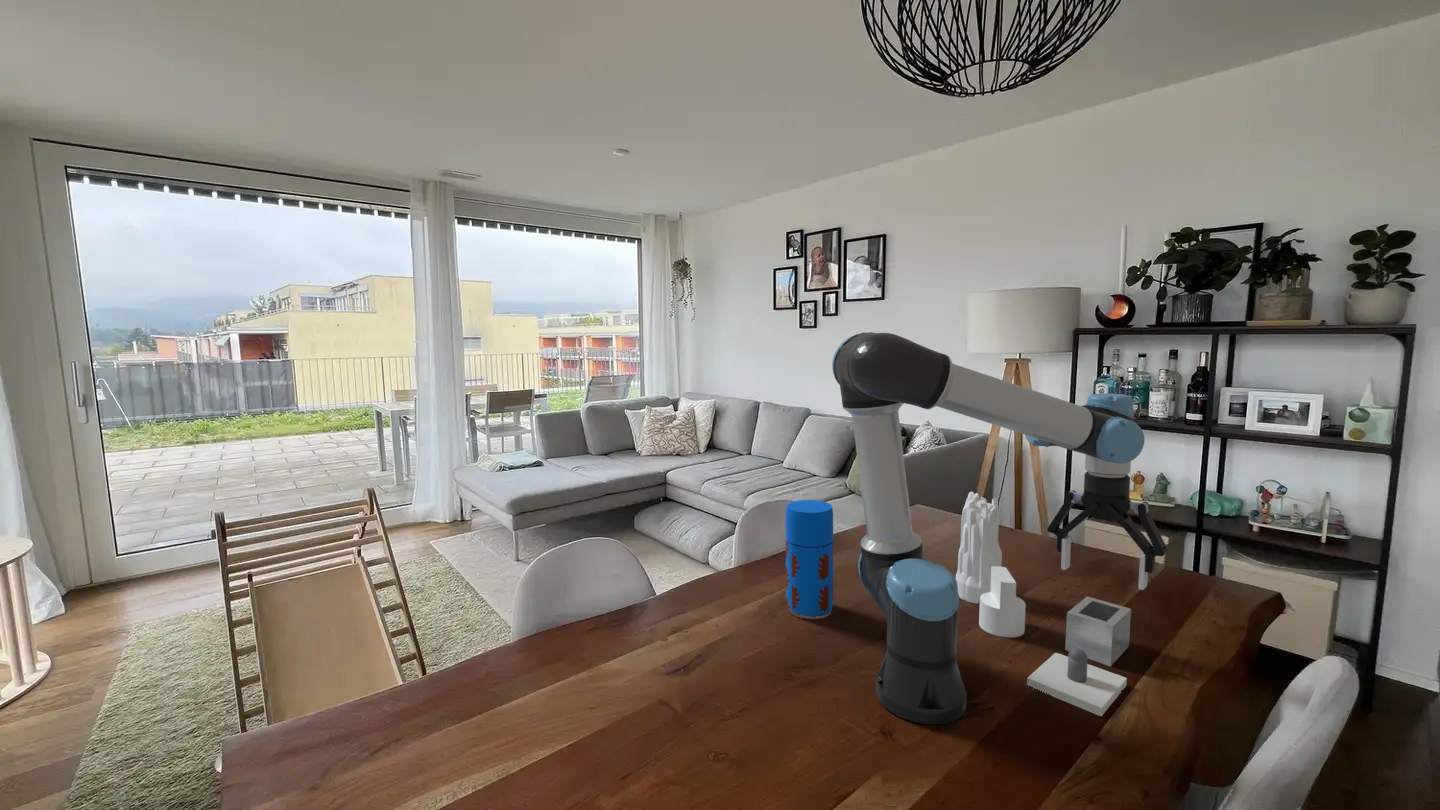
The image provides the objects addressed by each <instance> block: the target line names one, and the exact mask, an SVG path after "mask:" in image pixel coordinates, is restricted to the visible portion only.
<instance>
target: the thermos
mask: <svg viewBox="0 0 1440 810" xmlns="http://www.w3.org/2000/svg"><path fill="white" fill-rule="evenodd" d="M785 584H786V585H785V588H786V589H785V595H786V596H785V597H786V607H787V606H788V608H789V609H790V610H791V611H793V612H795V613H797V614H799V615H804V616H811V617H816V616H823V615H826V614H829V613H830V612H831V611H832V612H833V603H834V600H833V599H834V507H833V505H832V504H831V503H828V501H827V502H826V501H822V500H817V499H802V500H801V499H800V500H794V501H791V502H789V503H787V504H786V507H785Z"/></svg>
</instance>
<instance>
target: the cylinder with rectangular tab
mask: <svg viewBox="0 0 1440 810" xmlns="http://www.w3.org/2000/svg"><path fill="white" fill-rule="evenodd" d="M978 615H979V616H978V625H979V627H980V629H982V630H983V631H984V632H986V633H988V634H991V635H993V636H998V637H1002V638H1017V637H1018V638H1019V637H1021V636H1023V635H1024V634H1025V629H1026V602H1025V601H1024V600H1023V599H1022V598H1021V597H1019V596H1017V582H1016V580H1015V579H1014V577H1013V576H1012V574H1011V573H1010V571H1009V569H1008V568H1007V567H1005V566H1001V567H999V566H992V567H991V590H990V592H988V593H984V594H982V595H981V596H980V604H979V614H978Z"/></svg>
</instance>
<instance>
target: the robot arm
mask: <svg viewBox="0 0 1440 810" xmlns="http://www.w3.org/2000/svg"><path fill="white" fill-rule="evenodd" d="M831 366H832V373H833V377H834V379H835V380H836V382H837V385H839V388H840V389H839V390H840V396H841V403H842V409H843V410H845V412H847V413H848V414H850V415H851V417H852V425H853V426H852V427H853V434H854V443H855V452H856V457H857V458H856V459H857V465H858V473H859V480H860V481H859V482H860V489H861V496H862V497H861V498H862V504H863V505H862V506H863V512H864V520H865V528H866V534H865V535H864V536H863V537H862V538H861V540H860V543H859V544H860V551H861V553H860V555H859V558H858V565H857V566H858V567H857V568H858V574H859V577H860V581H861V584H862V585H863V587H864V589H865V590H866V592H867V593H868V594H869V595H870V596H871V598H872V599H873V601H874V602H875V603H876V604H877V606H878V607H879V609H880V610H881V612H882V613H883V615H884V616H885V619H886V651H885V655H884V658H883V660H882V663H881V665H880V668H879V671H878V673H877V676H876V681H875V694H877V695H876V697H878V698H877V700H878V701H879V703H880V704H881V705H882V707H884V708H885V709H886V708H887V709H888V710H889V711H888V710H887V709H886V710H887V711H888V712H890V711H891V712H892V714H893V713H894V714H893V715H895V714H896V715H895V716H897V717H899V718H901V719H903V718H904V720H906V719H907V720H906V721H909V720H910V722H912V721H913V722H912V723H917V724H922V725H932V724H933V725H934V724H935V725H945V724H949V723H953V722H955V721H957V720H959V719H960V718H961V717H962V716H963V715H964V714H965V712H966V709H967V691H966V688H965V685H964V682H963V679H962V675H961V672H960V668H959V666H958V661H957V656H958V654H957V653H958V652H957V650H958V628H959V627H958V626H959V625H958V623H959V606H960V605H959V604H960V598H959V594H958V585H957V581H956V576H955V575H954V574H953V573H952V572H951V571H950V570H949V569H948V568H947V567H945V566H943V565H941V564H939V563H934V561H932V560H927V559H925V558H924V549H923V548H924V547H923V541H922V540H923V539H922V538H921V536H920V535H919V534H918V533H916V532H914V530H913V526H912V525H913V524H912V516H911V507H910V500H909V490H908V483H907V482H908V481H907V473H906V466H905V455H904V446H903V440H902V432H901V424H900V414H899V410H900V408H901V407H902V406H904V404H905V405H906V404H907V405H911V406H915V407H919V408H921V409H923V410H924V409H925V410H931V409H933V408H935V407H938V408H941V409H944V410H946V411H950V412H953V413H956V414H959V415H963V416H966V417H969V418H972V419H976V420H978V421H981V422H983V423H988V424H991V425H995V426H996V427H1000V428H1003V429H1006V430H1008V431H1009V430H1010V431H1013V432H1016V433H1019V434H1022V435H1024V437H1025V438H1026V440H1027V442H1028V443H1029V444H1031V445H1032V446H1034V447H1045V448H1049V447H1060V448H1063V449H1066V450H1069V451H1073V452H1077V453H1079V454H1084V455H1085V456H1084V458H1085V459H1084V470H1085V471H1086V472H1085V473H1084V476H1083V477H1084V478H1083V479H1084V480H1083V482H1084V483H1083V493H1080V492H1077V491H1076V490H1074V489H1073V490H1070V491H1067V492H1066V493H1065V498H1064V502H1063V504H1062V506H1061V507H1060V508H1059V510H1058V511H1057V513H1056V515H1055V516H1054V518H1053V519H1052V521H1051V522H1050V524H1048V527H1047V532H1048V533H1052V534H1054V535H1055V537H1056V550H1057V552H1058V553H1061V559H1060V560H1061V561H1060V569H1061V570H1063V571H1066V570H1067V569H1069V568H1070V567H1071V550H1072V549H1071V547H1072V536H1071V535H1068V534H1069V533H1070V532H1072V530H1074V529H1075V528H1076V527H1077V526H1080V524H1081V523H1083V521H1085V520H1086V519H1087V518H1089V517H1093V518H1094V519H1095V520H1104V521H1107V522H1109V523H1110V522H1111V523H1113V522H1117V523H1118V525H1119V526H1120V527H1122V528H1123V529H1124V531H1126V533H1127V534H1128V536H1130V538H1131V539H1132V541H1133V542H1134V543H1135V544H1136V546H1137V547H1139V549H1140V551H1141V552H1142V554H1141V555H1139V569H1138V570H1139V571H1138V587H1137V588H1138V590H1141V591H1144V590H1145V589H1146V588H1147V586H1148V581H1149V574H1152V573H1153V572H1154V570H1155V568H1156V557H1164V556H1165V555H1166V553H1168V551H1169V549H1168V547H1167V545H1166V542H1165V541H1164V539H1163V537H1162V535H1161V533H1160V531H1159V529H1158V527H1157V525H1156V523H1155V521H1154V519H1153V517H1152V515H1151V514H1150V513H1151V511H1150V504H1149V502H1148V501H1142V502H1132V501H1131V499H1130V491H1131V489H1130V487H1131V477H1130V476H1129V474H1130V473H1131V468H1132V467H1131V466H1132V465H1131V463H1132V461H1134V460H1135V459H1136V458H1138V457H1139V455H1140V454H1141V453H1142V450H1143V449H1144V446H1145V441H1146V440H1145V434H1144V431H1143V430H1142V428H1141V426H1139V425H1138V423H1136V422H1135V421H1134V420H1135V417H1134V400H1133V398H1132V397H1131V396H1130V395H1127V394H1122V393H1111V392H1110V393H1106V392H1105V393H1101V392H1100V393H1092V394H1089V395H1088V396H1087V399H1086V401H1087V402H1086V403H1085V404H1084V405H1079V404H1075V403H1073V402H1070V401H1067V400H1064V399H1061V398H1057V397H1054V396H1052V395H1049V394H1046V393H1043V392H1039V391H1036V390H1033V389H1031V388H1028V387H1024V386H1021V385H1019V384H1016V383H1012V382H1010V381H1007V380H1003V379H1000V378H997V377H994V376H992V375H988V374H986V373H985V374H984V373H982V372H979V371H977V370H974V369H970V368H967V367H964V366H961V365H958V364H955V363H953V361H952V359H951V357H950V356H949V355H947V354H945V353H942V352H938V351H936V350H933V349H931V348H928V347H926V346H923V345H921V344H918V343H916V342H914V341H912V340H910V339H907V338H905V337H903V336H900V335H898V334H895V333H891V332H872V331H869V332H861V333H857V334H854V335H852V336H849V337H848V338H846V339H845V340H843V341H842V342H841V343H840V344H839V345H838V347H837V348H836V350H835V352H834V354H833V357H832V361H831ZM1079 501H1081V503H1082V504H1083V506H1084V507H1085V508H1084V509H1083V511H1081V512H1080V513H1079V514H1078V515H1077V516H1075V517H1074V518H1073V519H1071V520H1070V522H1068V523H1066V524H1065V526H1063V527H1062V528H1061V527H1060V526H1061V525H1062V523H1063V522H1064V520H1065V518H1066V517H1067V516H1068V514H1069V513H1070V511H1071V509H1072V508H1073V507H1074V505H1075V504H1077V503H1078V502H1079ZM1131 509H1132V510H1133V512H1134V513H1135V514H1136V515H1138V517H1139V518H1138V519H1139V521H1140V523H1141V525H1142V527H1143V529H1144V531H1145V533H1146V535H1147V537H1148V538H1147V537H1146V536H1145V534H1144V533H1142V531H1141V530H1140V529H1139V527H1138V526H1137V525H1136V524H1135V523H1134V520H1132V517H1131V516H1130V514H1128V512H1129V511H1130V510H1131ZM891 712H890V713H891Z"/></svg>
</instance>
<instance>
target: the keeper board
mask: <svg viewBox="0 0 1440 810" xmlns="http://www.w3.org/2000/svg"><path fill="white" fill-rule="evenodd" d="M1088 661H1089V659H1088V657H1087V655H1086V653H1085V652H1084V651H1083V650H1081V649H1078V648H1074V649H1072V650H1070V652H1068V655H1067V656H1066V655H1064V654H1062V653H1057V652H1054V653H1053V654H1052V655H1051V656H1050V657H1049V658H1048V659H1046V660H1045V661H1044V662H1043V663H1042V664H1041V665H1040V666H1038V668H1037V669H1036V670H1034V671H1033V672H1032V673H1031V674H1030V675H1029V676H1028V677H1027V678H1026V686H1027V685H1028V686H1027V687H1029V686H1031V687H1033V688H1032V689H1034V688H1035V689H1034V690H1036V689H1038V690H1040V691H1039V692H1041V691H1042V692H1041V693H1043V692H1044V693H1043V694H1046V693H1047V694H1046V695H1048V694H1049V695H1048V696H1050V695H1051V697H1053V698H1055V699H1058V700H1060V701H1063V702H1065V703H1068V704H1070V705H1073V706H1075V707H1078V708H1080V709H1082V710H1084V711H1087V712H1090V713H1092V714H1094V715H1097V716H1099V717H1102V716H1103V715H1104V714H1105V713H1106V711H1107V710H1108V709H1109V708H1110V706H1112V704H1113V703H1114V702H1115V701H1116V699H1117V698H1118V697H1119V695H1120V694H1121V693H1122V692H1123V691H1124V689H1125V688H1126V687H1127V681H1128V679H1127V677H1125V676H1123V675H1120V674H1118V673H1113V672H1111V671H1108V670H1105V669H1102V668H1100V667H1099V666H1098V667H1097V666H1095V665H1091V664H1088ZM1031 687H1030V688H1031ZM1038 690H1037V691H1038ZM1122 690H1123V691H1122ZM1121 691H1122V692H1121Z"/></svg>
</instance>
